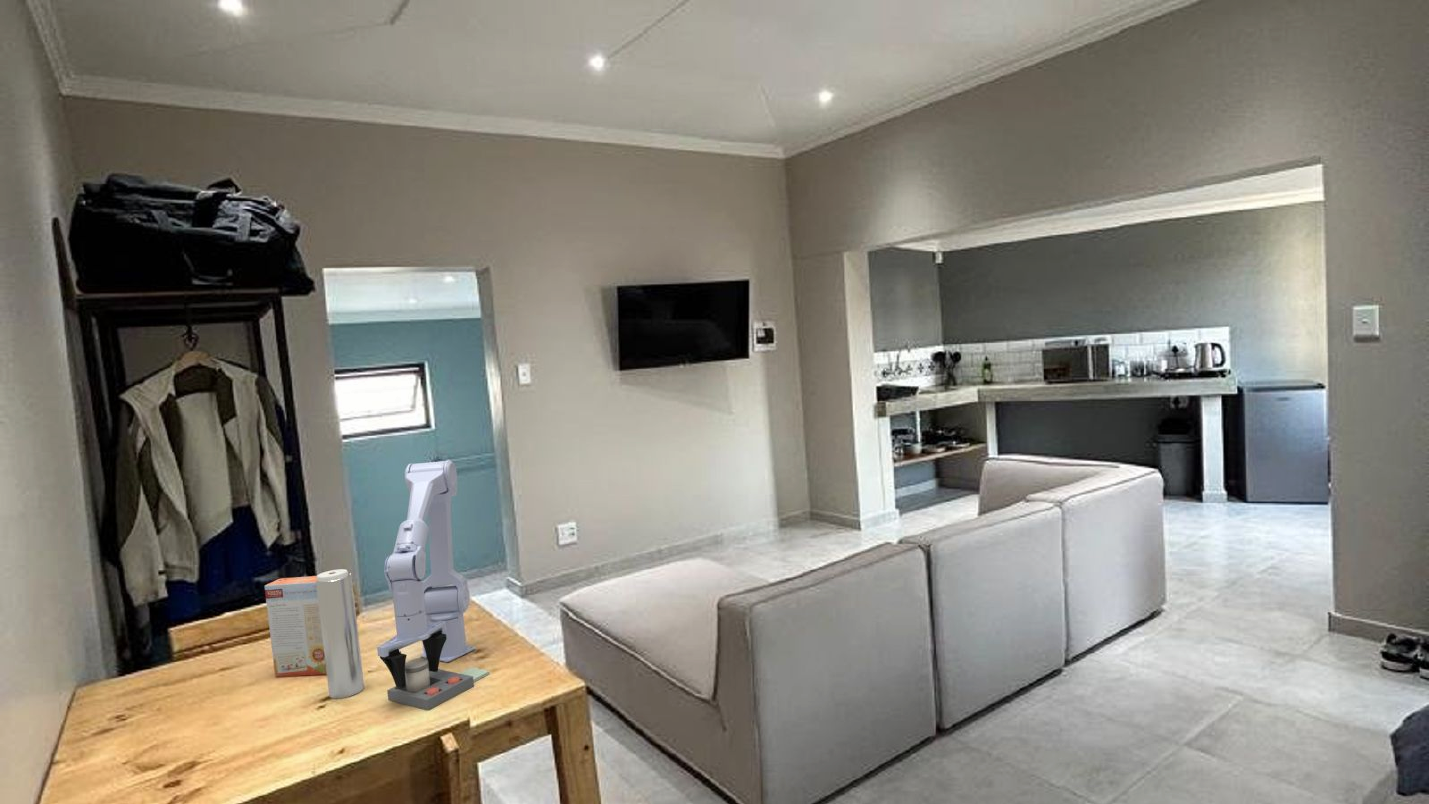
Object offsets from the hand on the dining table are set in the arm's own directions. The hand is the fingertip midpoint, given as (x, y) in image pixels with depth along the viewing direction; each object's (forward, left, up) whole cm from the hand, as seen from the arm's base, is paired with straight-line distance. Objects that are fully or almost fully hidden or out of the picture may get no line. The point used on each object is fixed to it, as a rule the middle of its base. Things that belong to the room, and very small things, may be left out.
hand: (417, 678), depth 148 cm
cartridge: (0, 0, -3) cm, 3 cm away
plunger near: (+6, -1, -3) cm, 7 cm away
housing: (+2, +1, -3) cm, 4 cm away
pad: (+4, +10, -3) cm, 11 cm away
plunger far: (+6, +4, -3) cm, 8 cm away
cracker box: (-35, -1, -3) cm, 35 cm away
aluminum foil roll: (-16, -5, -3) cm, 17 cm away
